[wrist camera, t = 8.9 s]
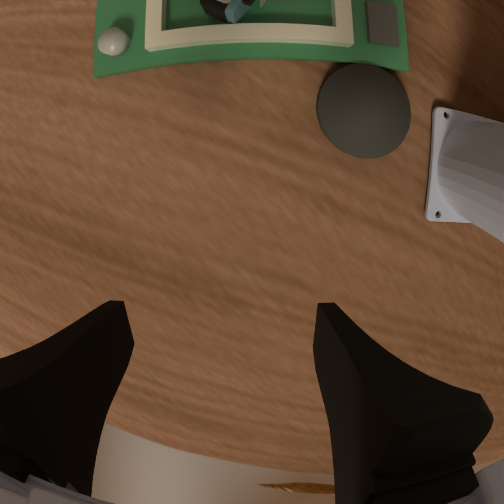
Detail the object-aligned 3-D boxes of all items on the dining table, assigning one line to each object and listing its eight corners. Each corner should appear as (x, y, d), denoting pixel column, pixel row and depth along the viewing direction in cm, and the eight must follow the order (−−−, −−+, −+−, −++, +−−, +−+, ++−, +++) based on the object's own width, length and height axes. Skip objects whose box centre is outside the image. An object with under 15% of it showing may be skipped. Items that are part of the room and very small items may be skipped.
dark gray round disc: (402, 73, 17) (410, 71, 16) (400, 159, 19) (408, 162, 18) (314, 61, 17) (318, 58, 16) (314, 153, 19) (318, 155, 18)
